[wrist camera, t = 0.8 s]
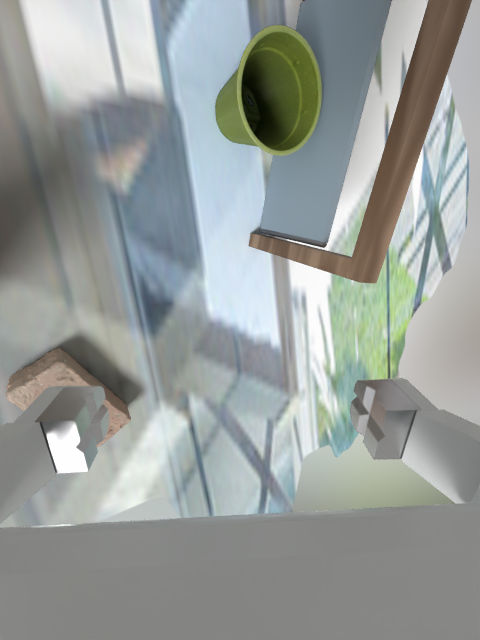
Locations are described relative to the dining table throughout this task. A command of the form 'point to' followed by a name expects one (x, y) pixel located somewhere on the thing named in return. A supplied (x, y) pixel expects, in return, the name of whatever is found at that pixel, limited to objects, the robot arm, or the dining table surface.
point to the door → (326, 118)
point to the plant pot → (272, 93)
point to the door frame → (392, 151)
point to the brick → (62, 372)
